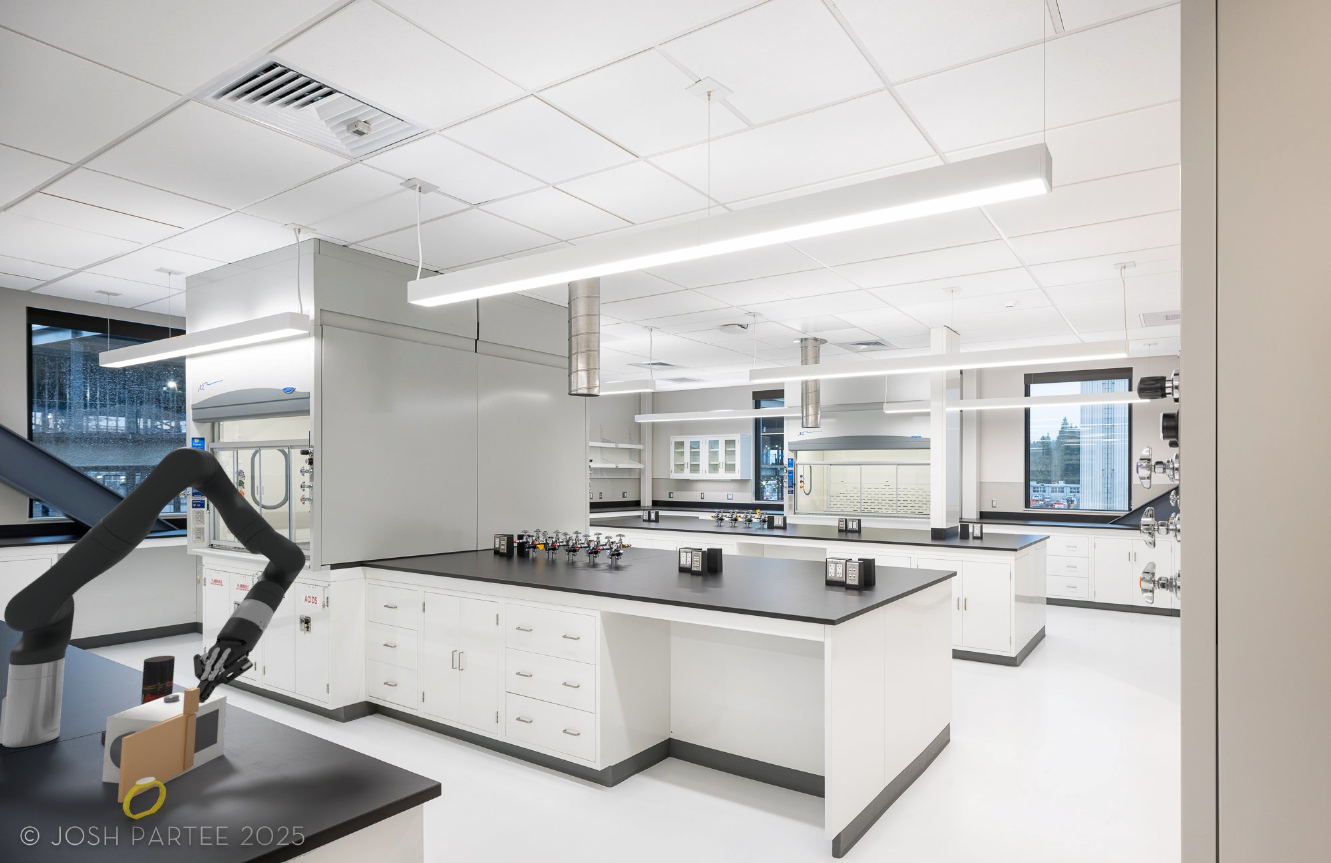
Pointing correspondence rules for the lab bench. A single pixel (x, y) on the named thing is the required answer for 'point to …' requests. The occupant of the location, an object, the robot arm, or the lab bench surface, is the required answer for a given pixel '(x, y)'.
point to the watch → (139, 784)
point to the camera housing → (158, 711)
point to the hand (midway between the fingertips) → (197, 700)
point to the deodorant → (157, 678)
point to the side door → (160, 748)
